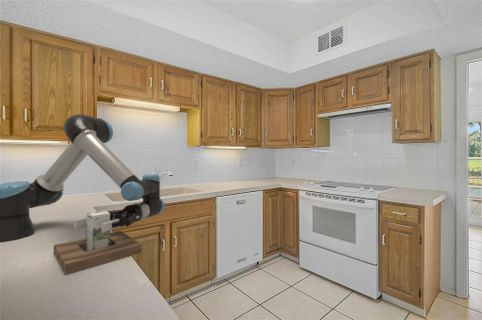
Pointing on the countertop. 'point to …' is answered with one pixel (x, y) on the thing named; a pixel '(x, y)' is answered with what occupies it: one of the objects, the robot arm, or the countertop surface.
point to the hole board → (94, 252)
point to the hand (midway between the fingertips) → (88, 226)
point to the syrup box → (97, 230)
